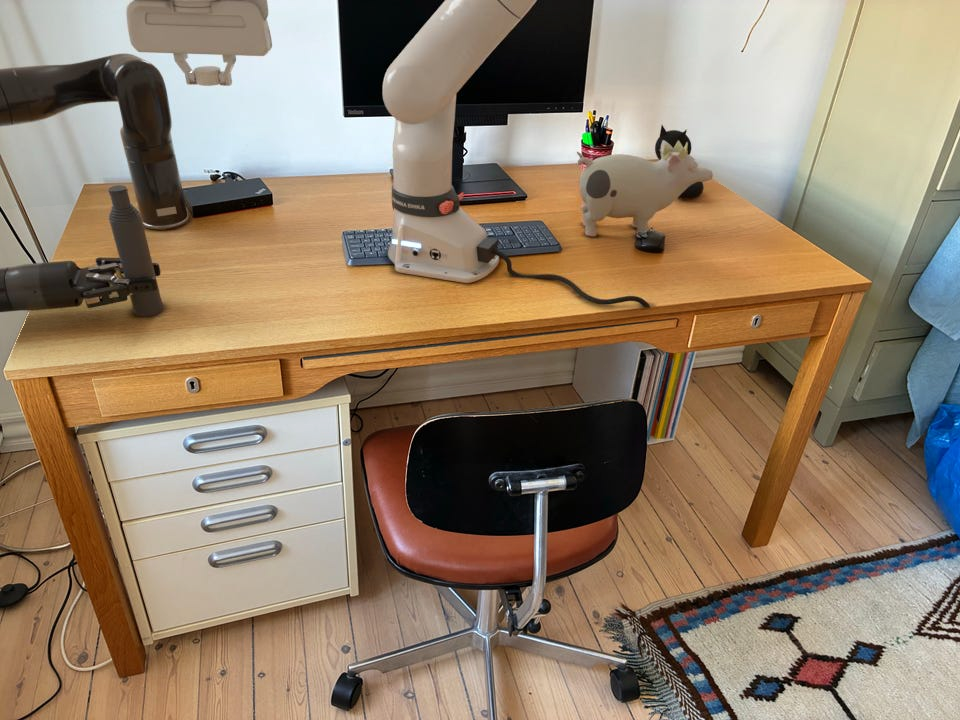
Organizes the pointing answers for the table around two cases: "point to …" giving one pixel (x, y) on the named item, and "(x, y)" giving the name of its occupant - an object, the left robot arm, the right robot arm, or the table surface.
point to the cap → (207, 75)
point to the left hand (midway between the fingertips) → (157, 276)
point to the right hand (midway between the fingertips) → (209, 84)
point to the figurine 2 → (672, 139)
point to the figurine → (635, 185)
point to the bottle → (133, 250)
